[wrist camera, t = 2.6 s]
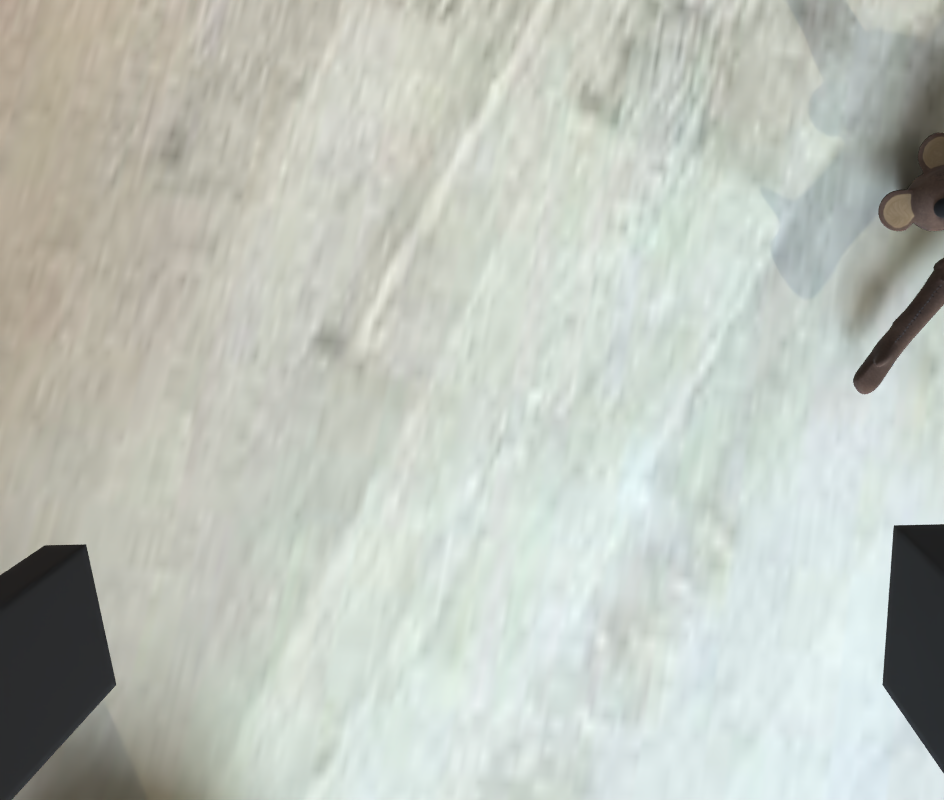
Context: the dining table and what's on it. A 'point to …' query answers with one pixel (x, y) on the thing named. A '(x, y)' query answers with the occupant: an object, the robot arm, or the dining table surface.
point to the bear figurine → (934, 209)
